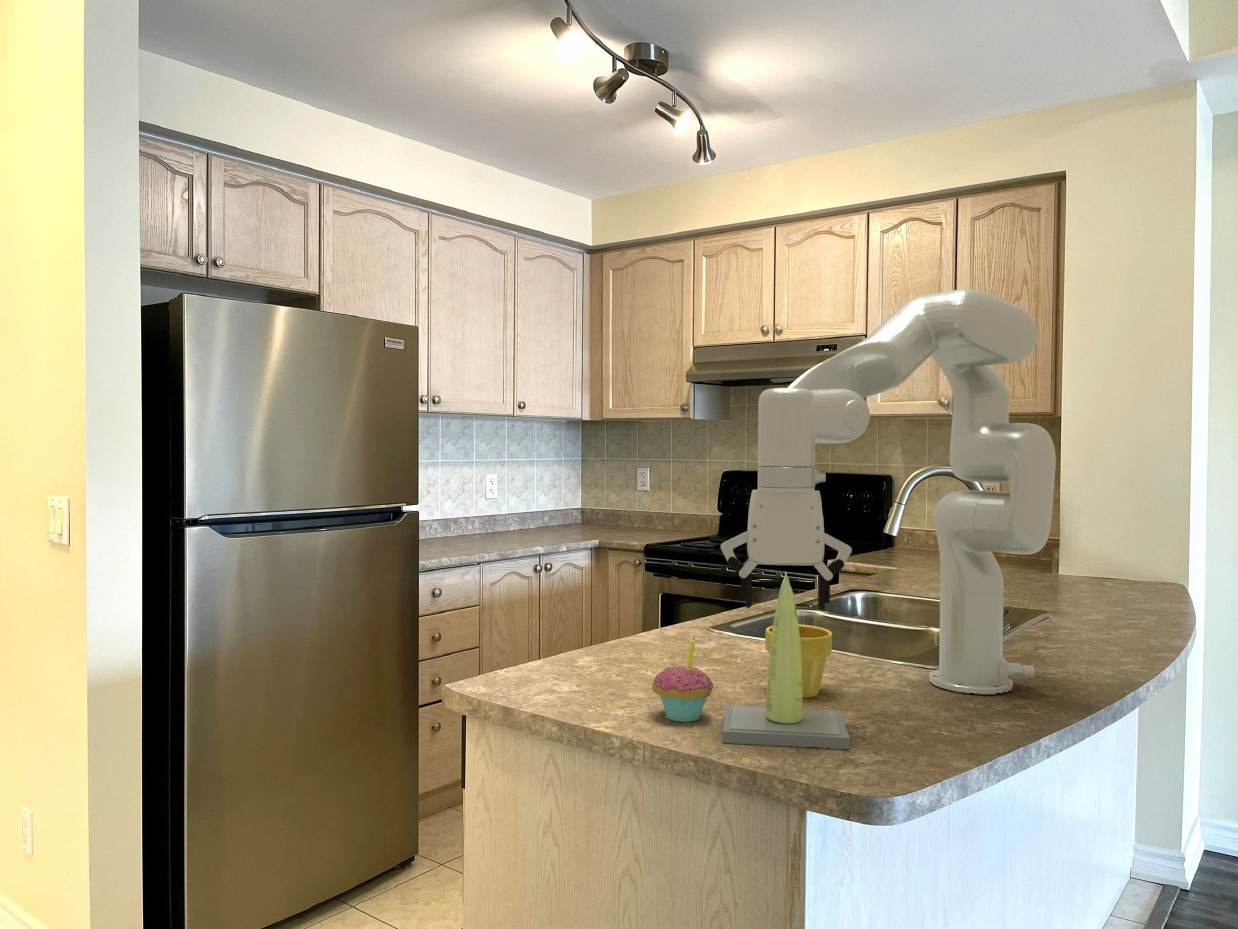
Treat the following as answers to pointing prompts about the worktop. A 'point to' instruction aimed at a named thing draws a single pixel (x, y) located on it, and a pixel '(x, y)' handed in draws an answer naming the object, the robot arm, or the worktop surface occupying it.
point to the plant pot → (810, 655)
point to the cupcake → (683, 690)
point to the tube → (785, 662)
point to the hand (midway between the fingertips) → (784, 607)
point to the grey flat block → (785, 728)
